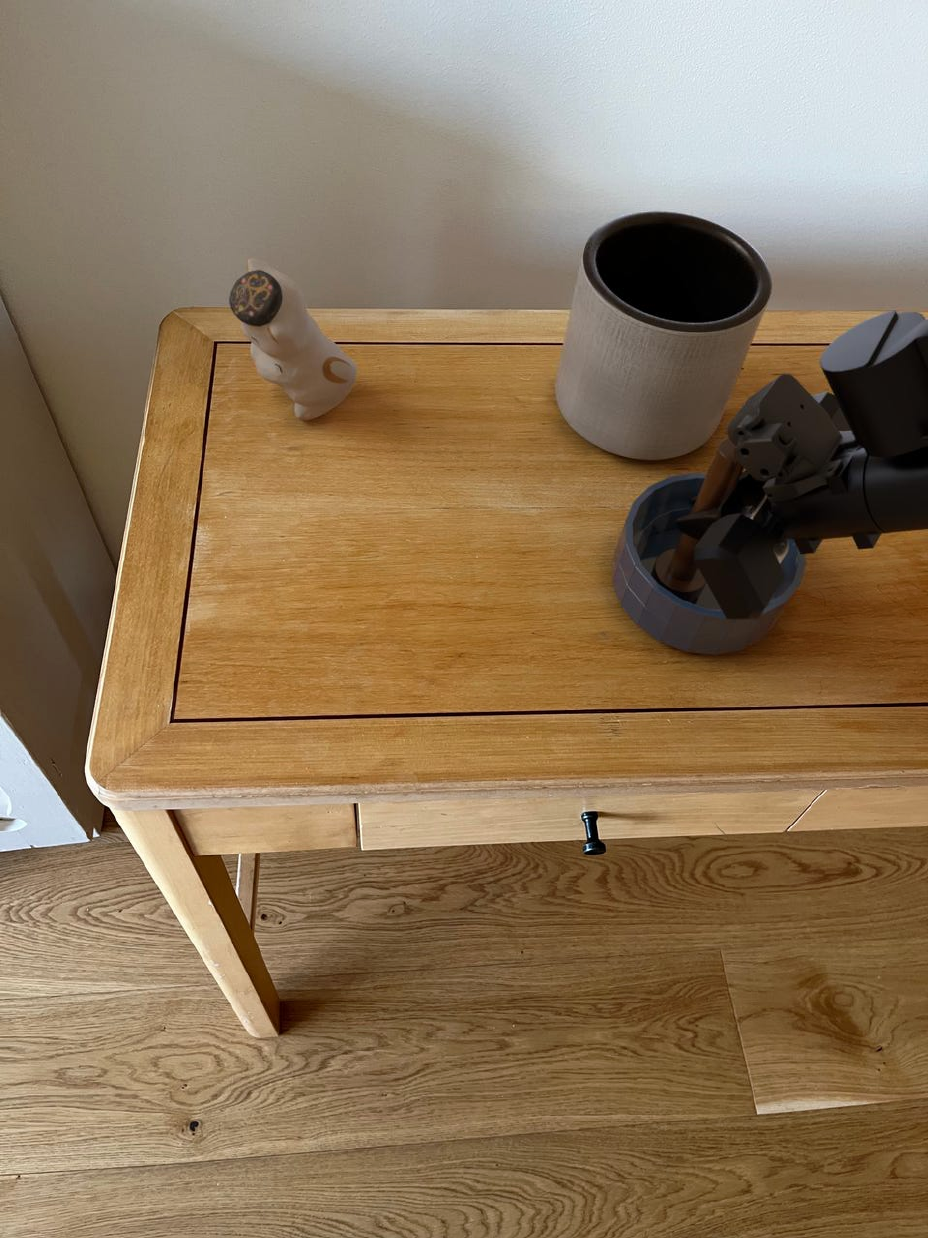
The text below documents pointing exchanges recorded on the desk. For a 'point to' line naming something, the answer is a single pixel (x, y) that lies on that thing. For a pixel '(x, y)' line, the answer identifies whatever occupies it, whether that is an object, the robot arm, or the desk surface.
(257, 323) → the figurine
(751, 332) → the planter
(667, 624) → the bowl
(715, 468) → the stirring stick
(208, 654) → the desk surface
